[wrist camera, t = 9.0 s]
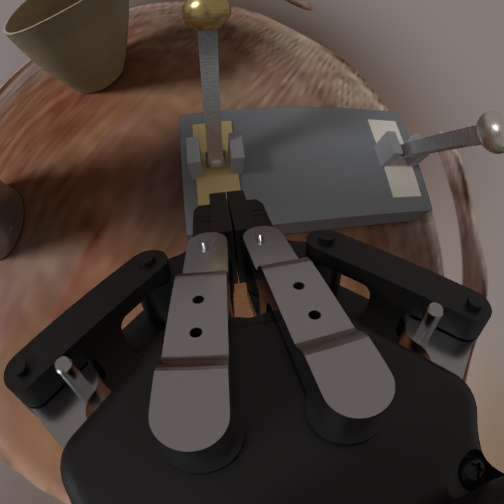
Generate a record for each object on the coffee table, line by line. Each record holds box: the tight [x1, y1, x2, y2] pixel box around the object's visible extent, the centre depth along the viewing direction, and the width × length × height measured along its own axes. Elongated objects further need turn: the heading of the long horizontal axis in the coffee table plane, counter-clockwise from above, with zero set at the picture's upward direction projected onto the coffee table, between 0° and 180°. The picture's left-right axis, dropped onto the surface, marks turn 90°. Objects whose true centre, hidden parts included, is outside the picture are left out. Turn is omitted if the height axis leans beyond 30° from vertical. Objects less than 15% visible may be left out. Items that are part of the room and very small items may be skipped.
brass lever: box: [182, 0, 231, 168], centre depth 18 cm, size 3×3×15 cm
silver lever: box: [398, 111, 504, 159], centre depth 19 cm, size 3×3×15 cm
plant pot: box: [3, 0, 129, 93], centre depth 23 cm, size 15×15×16 cm
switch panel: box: [180, 107, 432, 240], centre depth 26 cm, size 24×12×7 cm, turn 98°
